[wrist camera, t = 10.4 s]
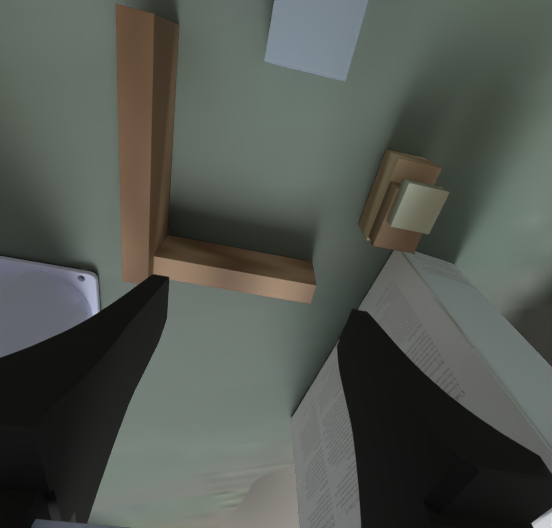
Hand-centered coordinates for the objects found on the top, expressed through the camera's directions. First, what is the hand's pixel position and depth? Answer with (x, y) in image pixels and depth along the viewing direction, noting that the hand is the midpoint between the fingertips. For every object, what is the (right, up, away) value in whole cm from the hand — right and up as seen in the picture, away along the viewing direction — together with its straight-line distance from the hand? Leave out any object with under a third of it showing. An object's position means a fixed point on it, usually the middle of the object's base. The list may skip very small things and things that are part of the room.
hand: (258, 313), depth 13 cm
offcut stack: (+8, +6, +8) cm, 13 cm away
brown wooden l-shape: (-1, +8, +8) cm, 11 cm away
